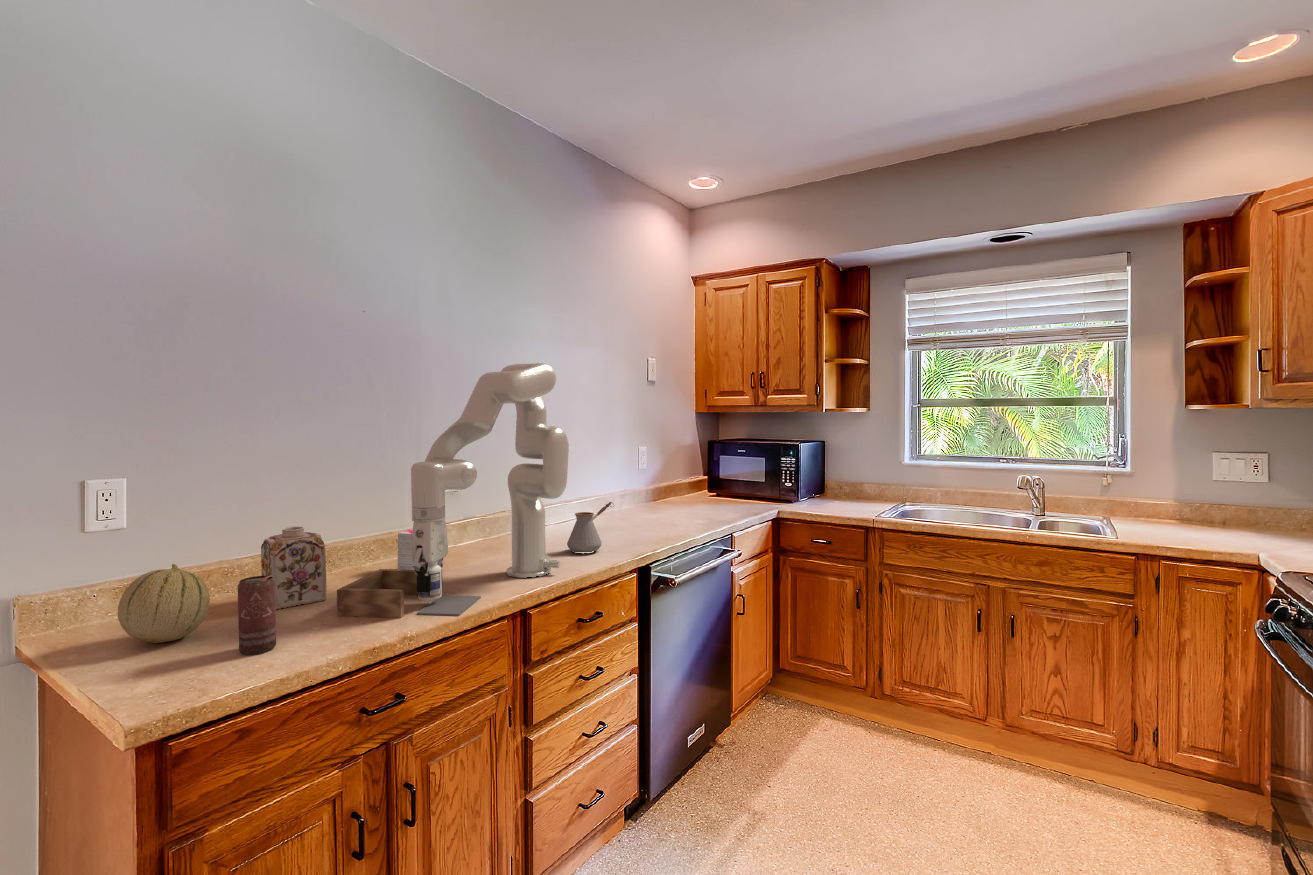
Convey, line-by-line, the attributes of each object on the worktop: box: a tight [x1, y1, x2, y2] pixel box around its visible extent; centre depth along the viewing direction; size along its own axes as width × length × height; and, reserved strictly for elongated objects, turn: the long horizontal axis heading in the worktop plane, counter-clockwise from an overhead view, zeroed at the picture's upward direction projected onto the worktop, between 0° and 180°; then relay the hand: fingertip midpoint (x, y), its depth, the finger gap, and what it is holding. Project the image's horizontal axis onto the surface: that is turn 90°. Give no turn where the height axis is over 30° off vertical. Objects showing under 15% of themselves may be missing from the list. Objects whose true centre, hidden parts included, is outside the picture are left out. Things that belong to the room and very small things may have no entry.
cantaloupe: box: [117, 563, 211, 644], centre depth 127 cm, size 15×15×15 cm
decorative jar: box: [260, 525, 327, 611], centre depth 154 cm, size 12×12×18 cm
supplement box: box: [396, 529, 422, 570], centre depth 184 cm, size 6×6×12 cm
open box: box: [336, 568, 418, 619], centre depth 152 cm, size 15×19×6 cm
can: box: [237, 575, 277, 656], centre depth 122 cm, size 6×6×14 cm
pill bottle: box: [417, 560, 443, 602], centre depth 151 cm, size 5×5×10 cm
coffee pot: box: [566, 501, 615, 552], centre depth 213 cm, size 21×12×15 cm, turn 148°
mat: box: [416, 594, 482, 617], centre depth 150 cm, size 10×14×1 cm
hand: (429, 587), depth 151 cm, fingers closed on pill bottle, 5 cm apart
